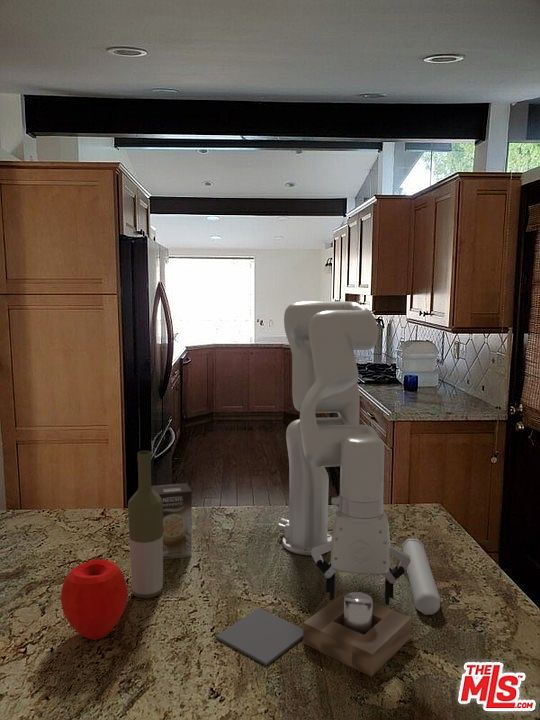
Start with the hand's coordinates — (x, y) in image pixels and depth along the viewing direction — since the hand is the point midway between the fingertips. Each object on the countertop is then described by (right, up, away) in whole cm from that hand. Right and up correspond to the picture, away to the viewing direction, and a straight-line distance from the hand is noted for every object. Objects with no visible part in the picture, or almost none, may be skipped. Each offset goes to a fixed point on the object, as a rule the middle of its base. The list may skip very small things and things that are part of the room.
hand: (359, 598), depth 105 cm
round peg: (0, -8, +2) cm, 8 cm away
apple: (-48, -8, +4) cm, 49 cm away
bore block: (0, -8, +2) cm, 8 cm away
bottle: (-41, -6, +18) cm, 45 cm away
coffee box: (-39, -4, +35) cm, 53 cm away
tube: (+16, -6, +21) cm, 28 cm away
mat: (-17, -8, +3) cm, 19 cm away
